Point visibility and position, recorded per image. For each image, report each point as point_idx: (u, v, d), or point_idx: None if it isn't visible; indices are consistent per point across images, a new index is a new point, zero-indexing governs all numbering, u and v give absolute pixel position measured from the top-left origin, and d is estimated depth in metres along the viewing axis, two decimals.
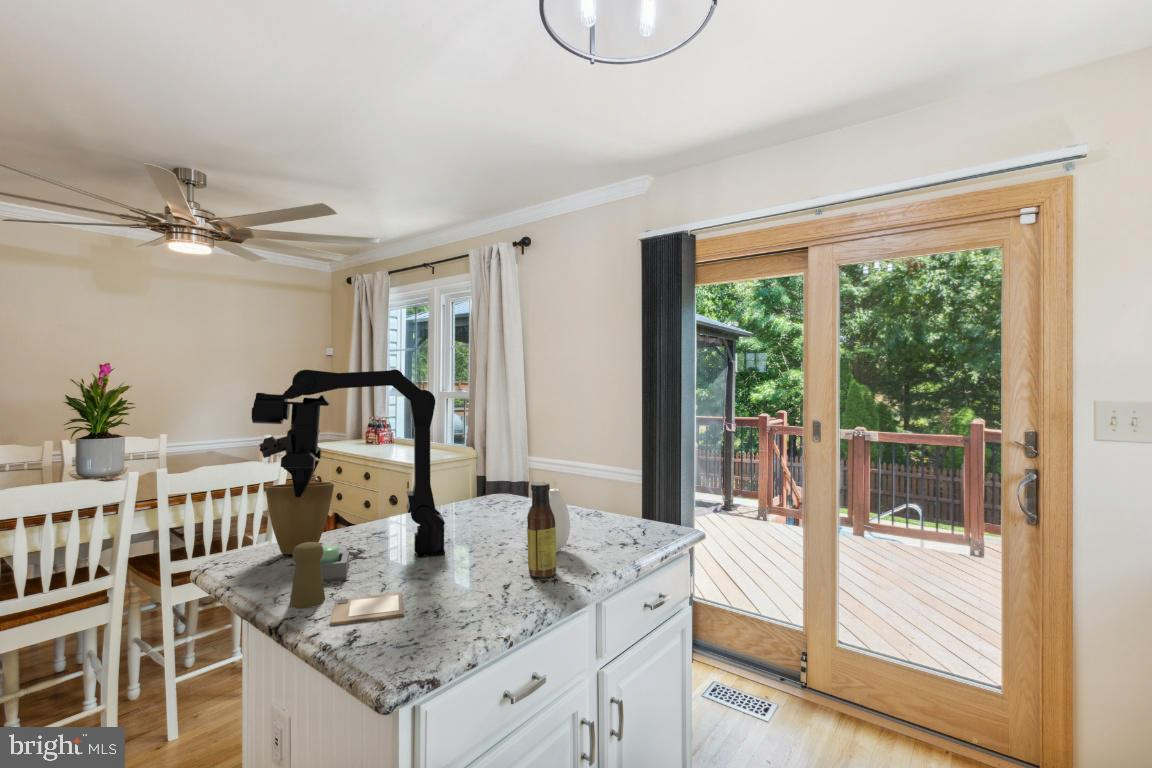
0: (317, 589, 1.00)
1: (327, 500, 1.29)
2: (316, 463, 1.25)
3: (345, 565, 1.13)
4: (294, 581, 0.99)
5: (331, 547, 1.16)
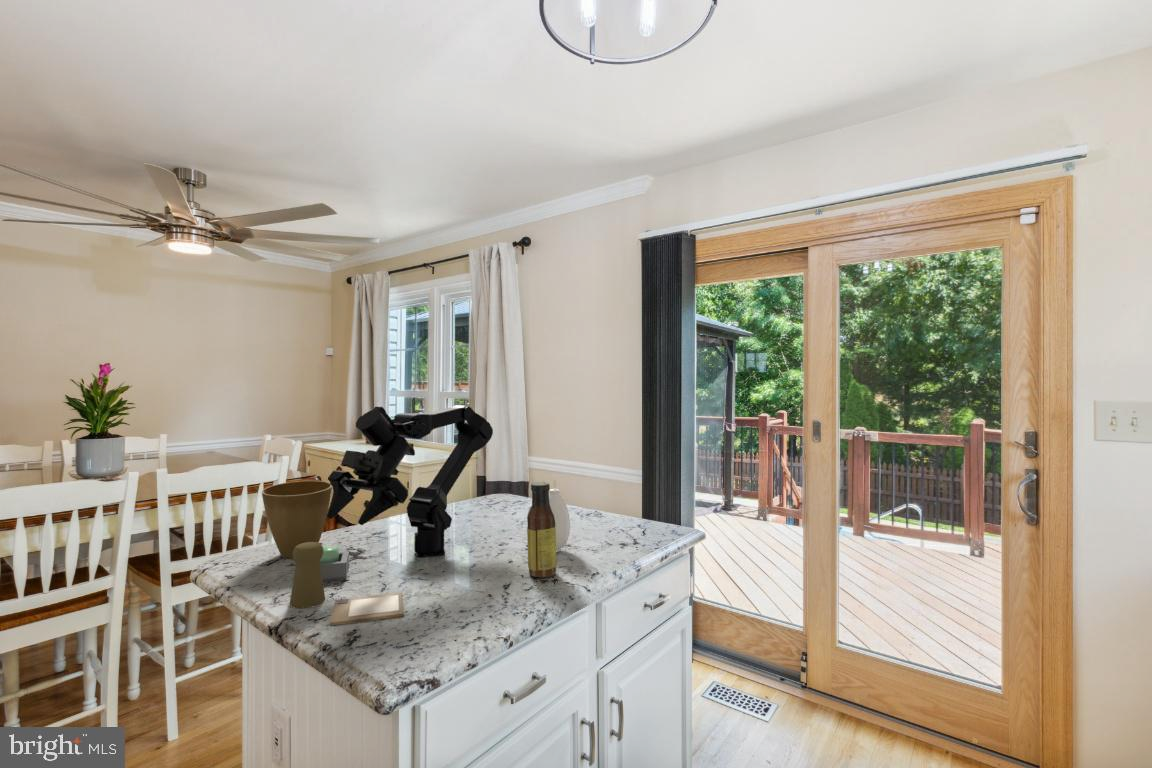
0: (317, 589, 1.00)
1: (325, 505, 1.28)
2: (352, 498, 1.16)
3: (345, 565, 1.13)
4: (294, 581, 0.99)
5: (331, 547, 1.16)
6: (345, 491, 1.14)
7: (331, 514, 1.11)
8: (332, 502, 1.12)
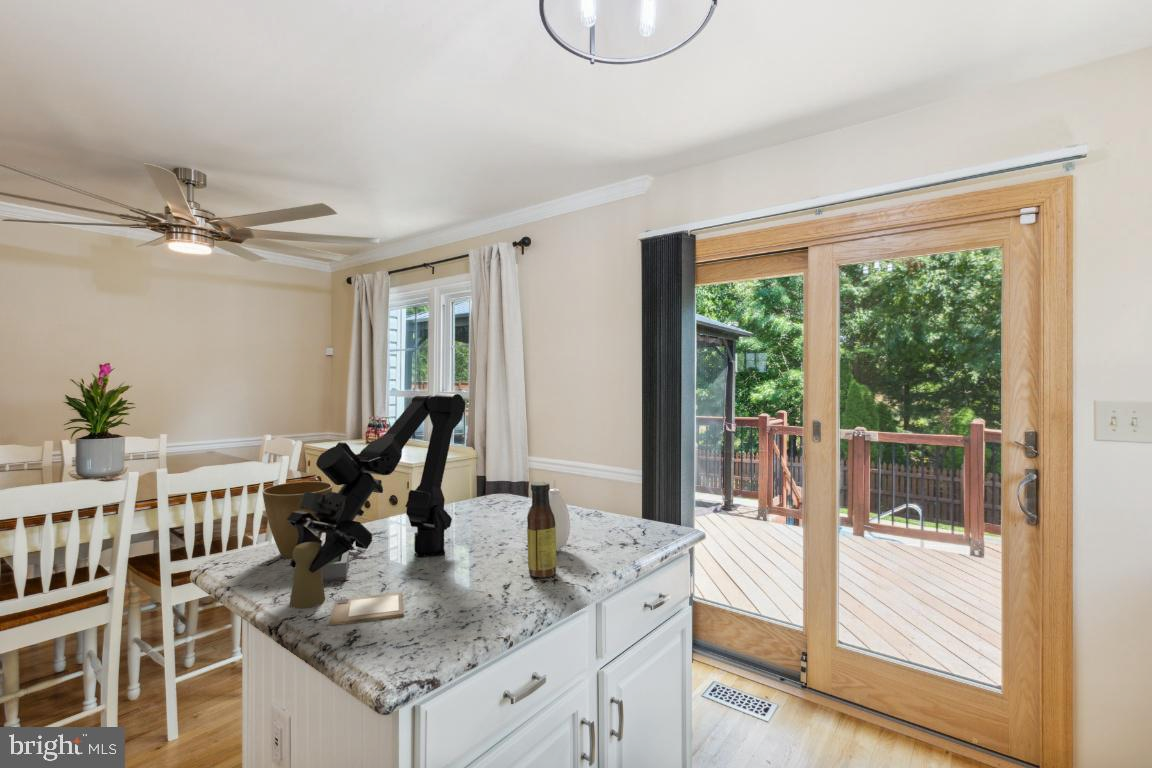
0: (317, 589, 1.00)
1: None
2: (320, 542, 1.07)
3: (345, 565, 1.13)
4: (294, 581, 0.99)
5: None
6: (311, 536, 1.05)
7: (295, 562, 1.01)
8: None
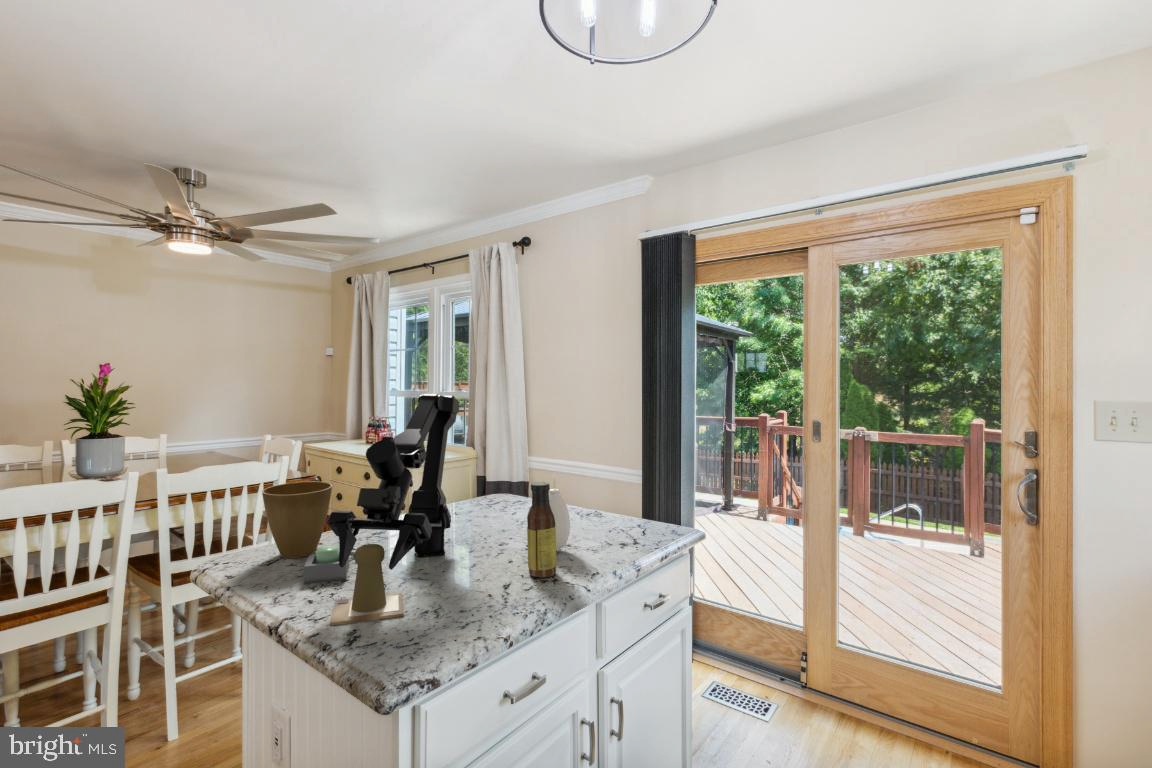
0: (383, 590, 0.98)
1: (326, 504, 1.28)
2: (355, 540, 1.03)
3: (345, 565, 1.13)
4: (360, 585, 0.96)
5: (331, 547, 1.16)
6: (350, 534, 1.01)
7: (343, 562, 0.98)
8: (342, 548, 0.98)
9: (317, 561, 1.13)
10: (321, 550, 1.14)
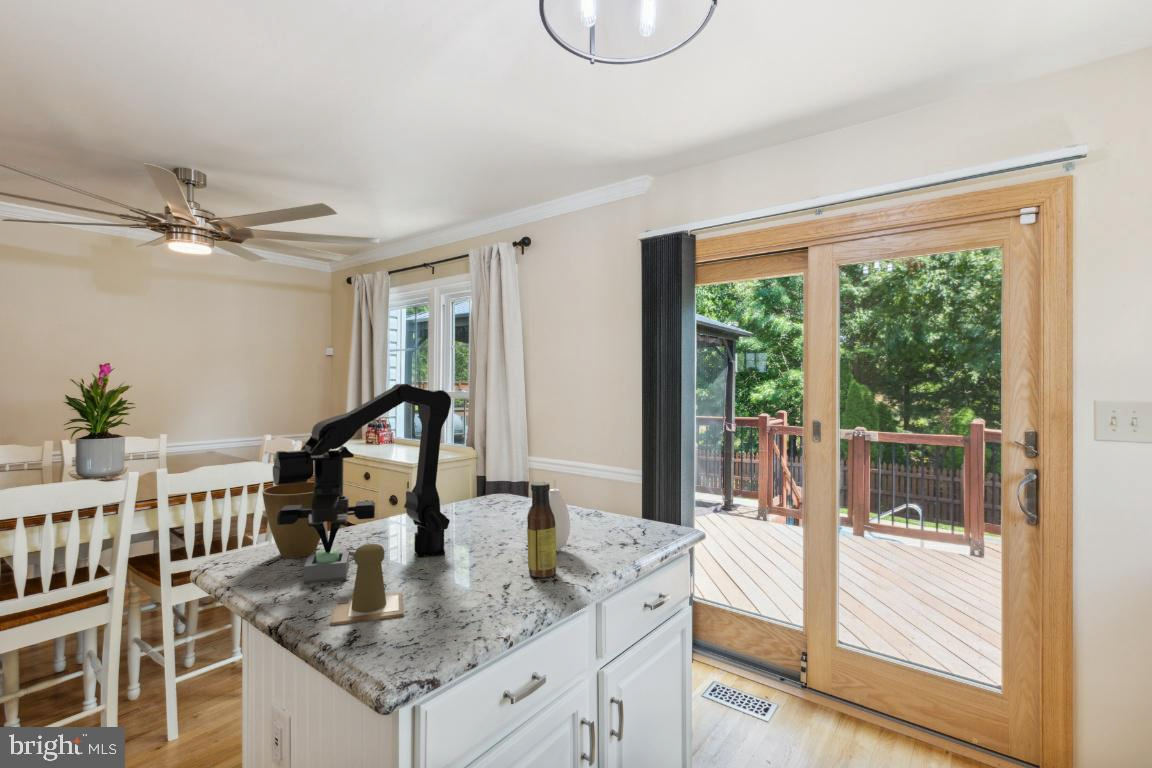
0: (383, 590, 0.98)
1: None
2: None
3: (345, 565, 1.13)
4: (360, 585, 0.96)
5: (331, 550, 1.16)
6: (324, 522, 1.15)
7: None
8: (324, 540, 1.14)
9: None
10: (321, 553, 1.14)
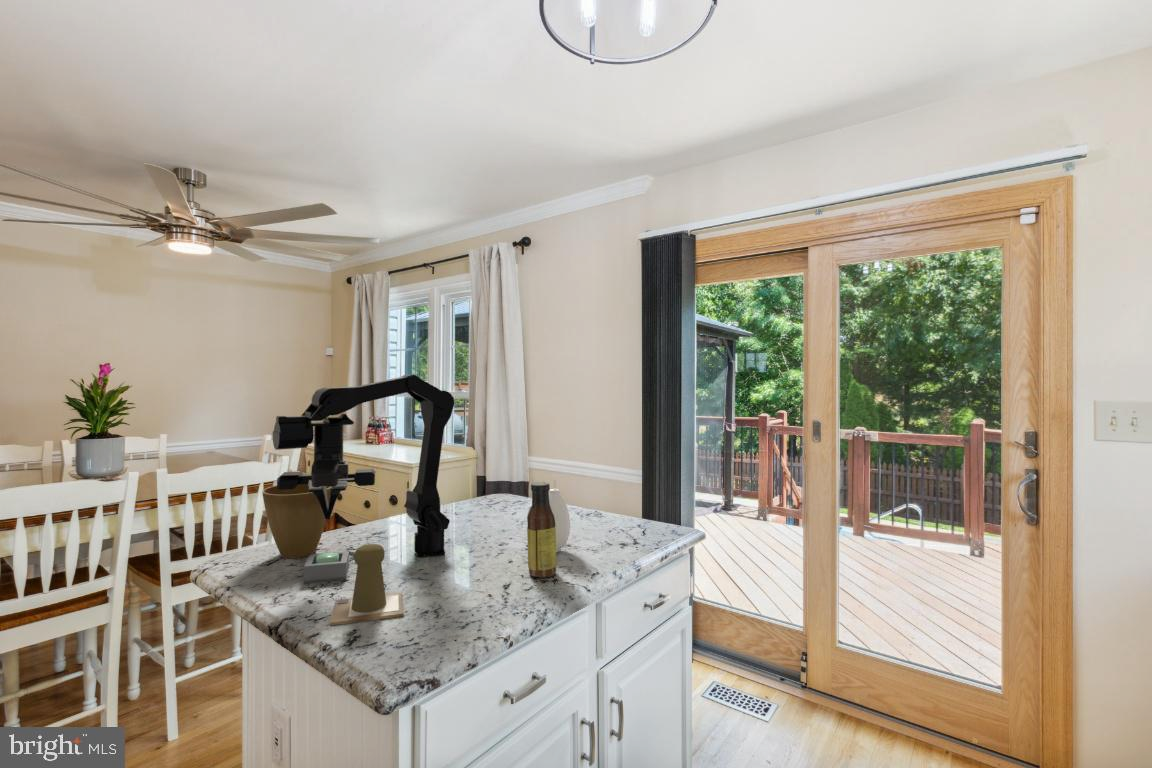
0: (383, 590, 0.98)
1: None
2: None
3: (345, 565, 1.13)
4: (360, 585, 0.96)
5: (331, 554, 1.16)
6: (324, 489, 1.15)
7: None
8: (323, 506, 1.14)
9: None
10: (321, 557, 1.14)
